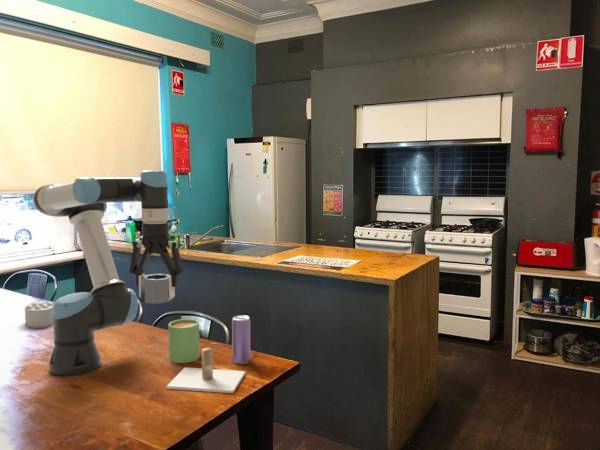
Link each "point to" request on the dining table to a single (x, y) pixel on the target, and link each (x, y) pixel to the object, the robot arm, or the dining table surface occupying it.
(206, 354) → the post
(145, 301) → the ring
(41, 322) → the lumpy-topped squat cylinder
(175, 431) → the dining table surface
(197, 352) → the mug
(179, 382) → the base board
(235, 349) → the beverage can
